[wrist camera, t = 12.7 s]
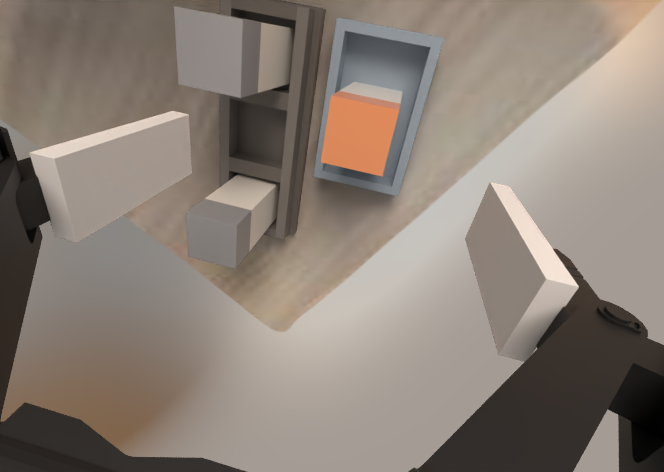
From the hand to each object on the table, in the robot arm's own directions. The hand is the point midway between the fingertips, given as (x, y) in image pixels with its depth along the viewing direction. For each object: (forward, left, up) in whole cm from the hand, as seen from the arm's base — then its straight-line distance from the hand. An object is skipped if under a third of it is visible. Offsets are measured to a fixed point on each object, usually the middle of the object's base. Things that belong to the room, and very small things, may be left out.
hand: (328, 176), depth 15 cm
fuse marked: (0, 0, -20) cm, 20 cm away
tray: (0, 0, -21) cm, 21 cm away
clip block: (+4, -10, -21) cm, 24 cm away
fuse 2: (+12, -10, -20) cm, 25 cm away
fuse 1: (-3, -10, -20) cm, 23 cm away
